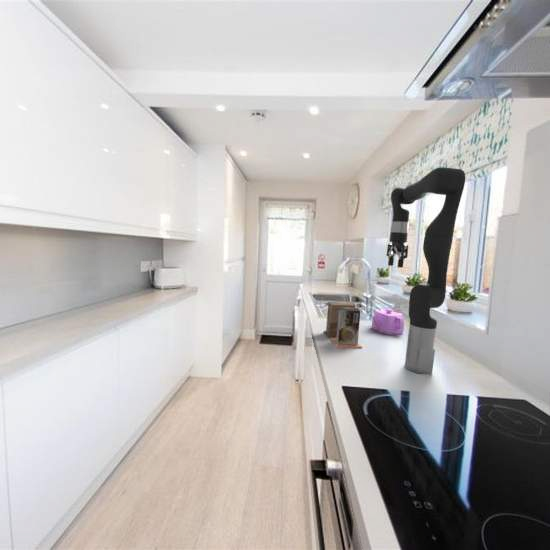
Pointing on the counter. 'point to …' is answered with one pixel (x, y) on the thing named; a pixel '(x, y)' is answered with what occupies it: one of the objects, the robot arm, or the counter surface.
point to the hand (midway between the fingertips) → (395, 266)
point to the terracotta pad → (345, 344)
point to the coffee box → (348, 326)
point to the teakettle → (388, 322)
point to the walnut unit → (334, 317)
